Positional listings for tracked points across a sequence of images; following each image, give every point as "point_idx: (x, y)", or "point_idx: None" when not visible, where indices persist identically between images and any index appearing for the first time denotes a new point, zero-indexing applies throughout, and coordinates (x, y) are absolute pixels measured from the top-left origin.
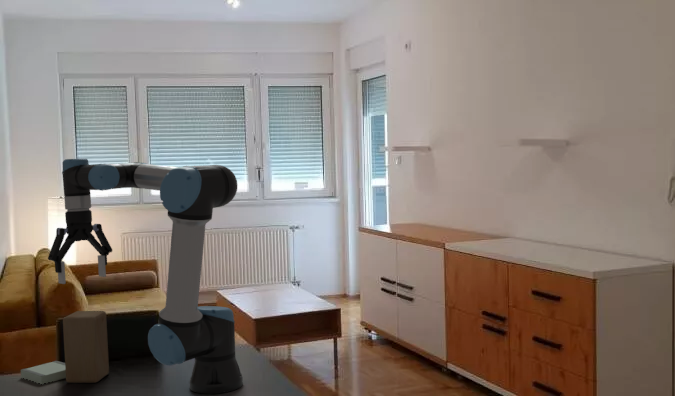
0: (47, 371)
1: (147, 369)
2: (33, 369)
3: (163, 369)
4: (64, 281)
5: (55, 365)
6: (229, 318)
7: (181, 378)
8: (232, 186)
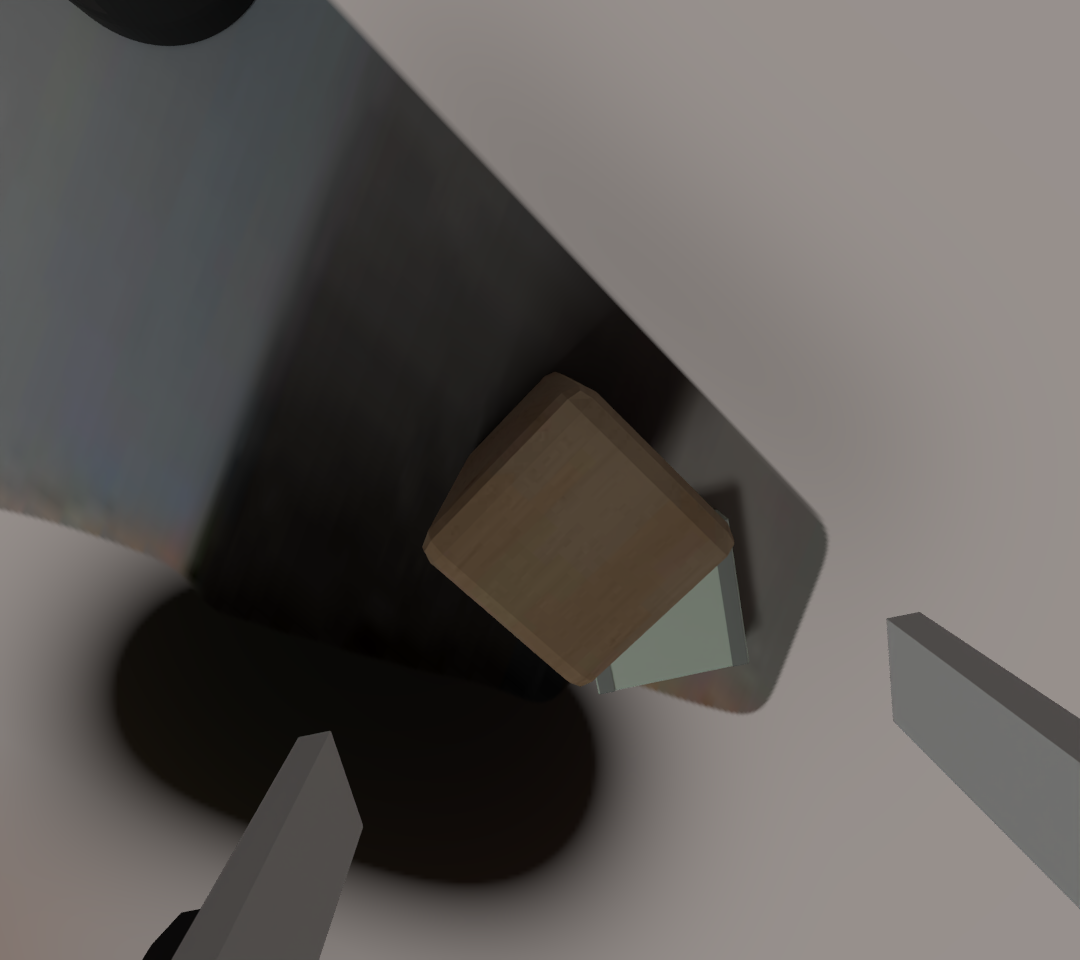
0: None
1: (317, 409)
2: (711, 635)
3: (260, 358)
4: (921, 631)
5: None
6: None
7: (244, 162)
8: None
